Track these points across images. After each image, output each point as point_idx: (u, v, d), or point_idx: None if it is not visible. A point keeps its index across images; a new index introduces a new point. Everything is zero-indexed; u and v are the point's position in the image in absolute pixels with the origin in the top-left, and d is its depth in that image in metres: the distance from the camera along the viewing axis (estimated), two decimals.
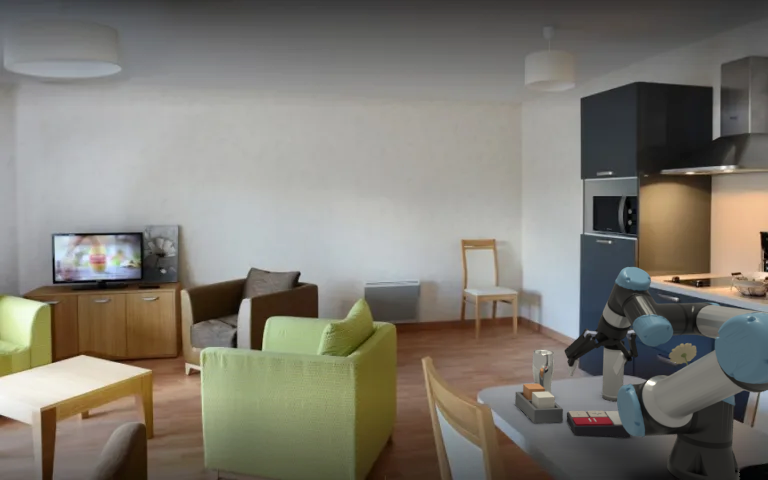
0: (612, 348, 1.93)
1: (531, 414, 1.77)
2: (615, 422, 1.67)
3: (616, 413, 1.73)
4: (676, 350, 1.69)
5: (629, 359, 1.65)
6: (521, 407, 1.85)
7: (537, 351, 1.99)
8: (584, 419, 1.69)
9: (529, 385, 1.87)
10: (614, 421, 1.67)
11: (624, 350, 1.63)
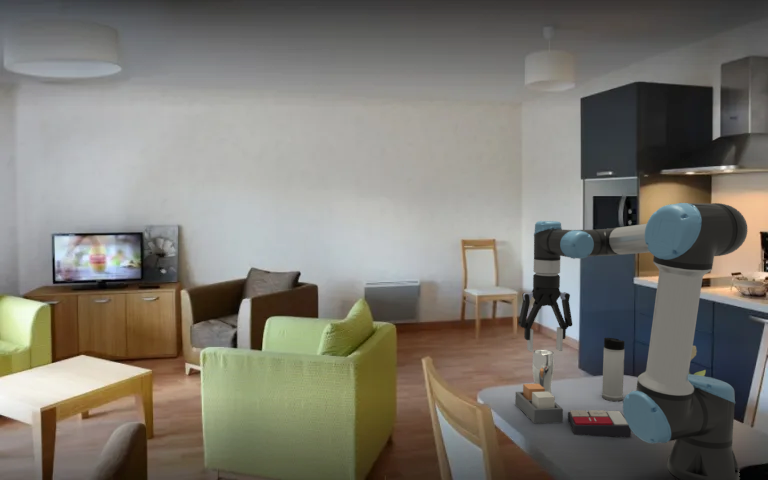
0: (612, 348, 1.93)
1: (531, 414, 1.77)
2: (615, 422, 1.67)
3: (617, 413, 1.73)
4: None
5: (565, 327, 1.76)
6: (521, 407, 1.85)
7: (537, 351, 1.99)
8: (584, 418, 1.70)
9: (529, 385, 1.87)
10: (614, 421, 1.67)
11: (560, 314, 1.76)
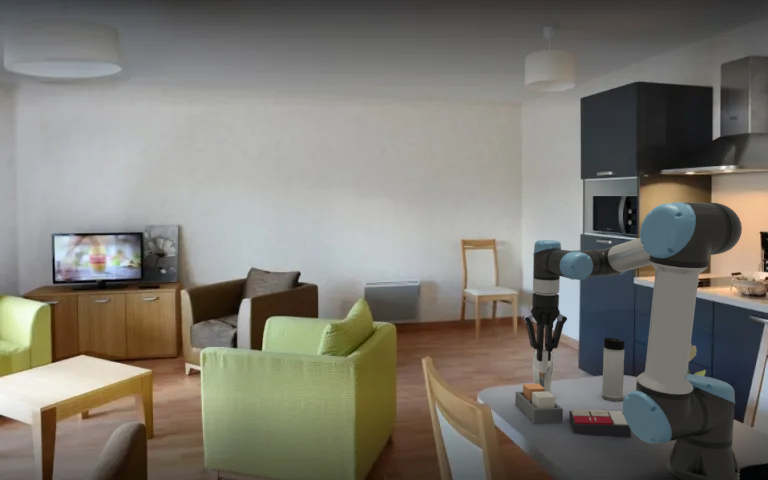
0: (612, 348, 1.93)
1: (531, 414, 1.77)
2: (615, 422, 1.67)
3: (619, 413, 1.73)
4: None
5: (550, 349, 1.77)
6: (521, 407, 1.85)
7: None
8: (585, 418, 1.70)
9: (529, 385, 1.87)
10: (615, 421, 1.68)
11: (550, 335, 1.77)
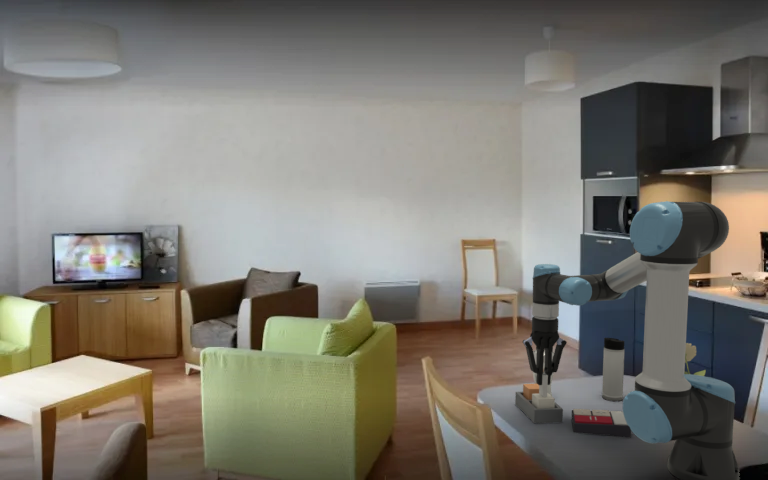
0: (612, 348, 1.93)
1: (531, 414, 1.77)
2: (616, 421, 1.67)
3: (621, 413, 1.73)
4: None
5: (549, 373, 1.77)
6: (521, 407, 1.85)
7: None
8: (585, 417, 1.71)
9: (529, 385, 1.87)
10: (615, 421, 1.68)
11: (550, 359, 1.77)
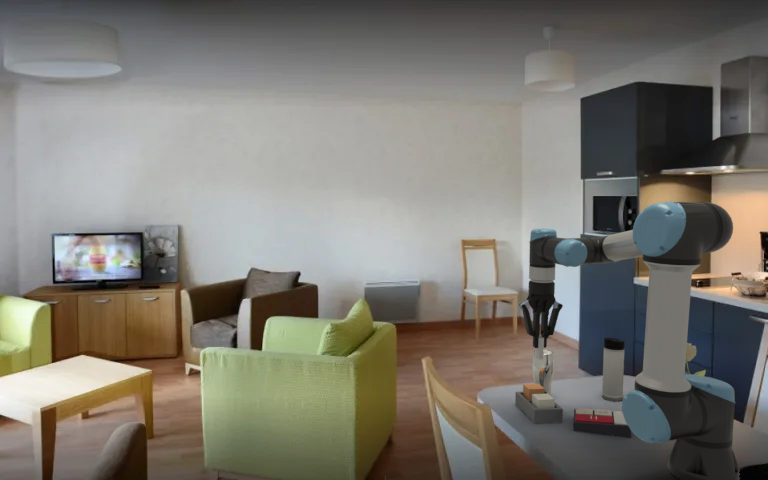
0: (612, 348, 1.93)
1: (531, 414, 1.77)
2: (616, 421, 1.67)
3: None
4: None
5: (546, 336, 1.79)
6: (521, 407, 1.85)
7: None
8: (586, 416, 1.71)
9: (529, 385, 1.87)
10: (616, 420, 1.68)
11: (546, 322, 1.80)
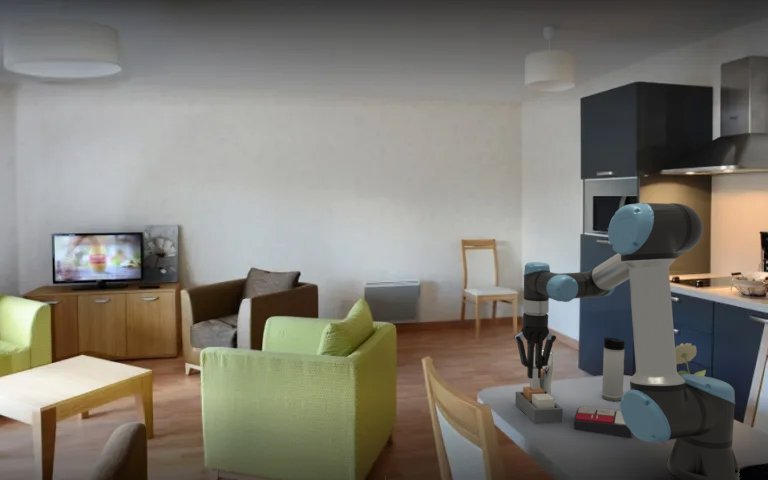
0: (612, 348, 1.93)
1: (531, 414, 1.77)
2: (616, 421, 1.67)
3: None
4: (676, 350, 1.69)
5: (540, 367, 1.85)
6: (521, 407, 1.85)
7: None
8: (587, 415, 1.72)
9: (529, 388, 1.87)
10: (616, 420, 1.68)
11: (540, 354, 1.85)
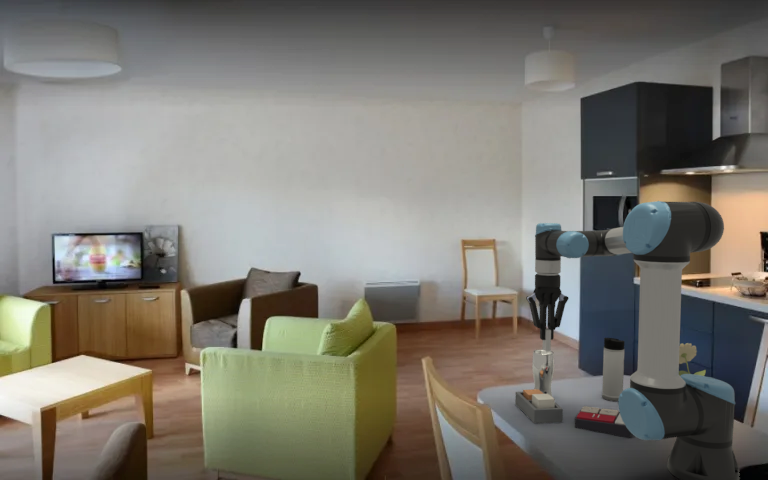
0: (612, 348, 1.93)
1: (531, 414, 1.77)
2: (617, 421, 1.67)
3: None
4: None
5: (552, 328, 1.83)
6: (521, 407, 1.85)
7: (537, 351, 1.99)
8: (589, 414, 1.73)
9: (529, 391, 1.87)
10: (617, 420, 1.68)
11: (553, 315, 1.84)
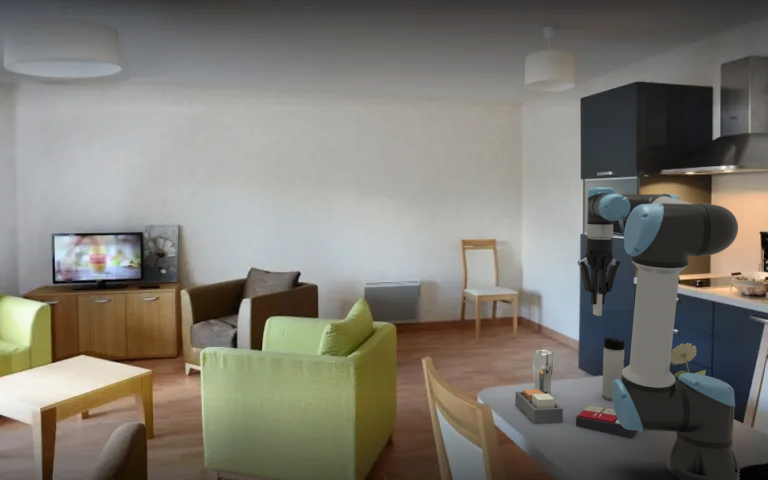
0: (612, 348, 1.93)
1: (531, 414, 1.77)
2: (618, 421, 1.68)
3: None
4: (676, 350, 1.69)
5: (604, 292, 1.83)
6: (521, 407, 1.85)
7: (537, 351, 1.99)
8: (591, 413, 1.74)
9: (529, 391, 1.87)
10: None
11: (604, 279, 1.83)
